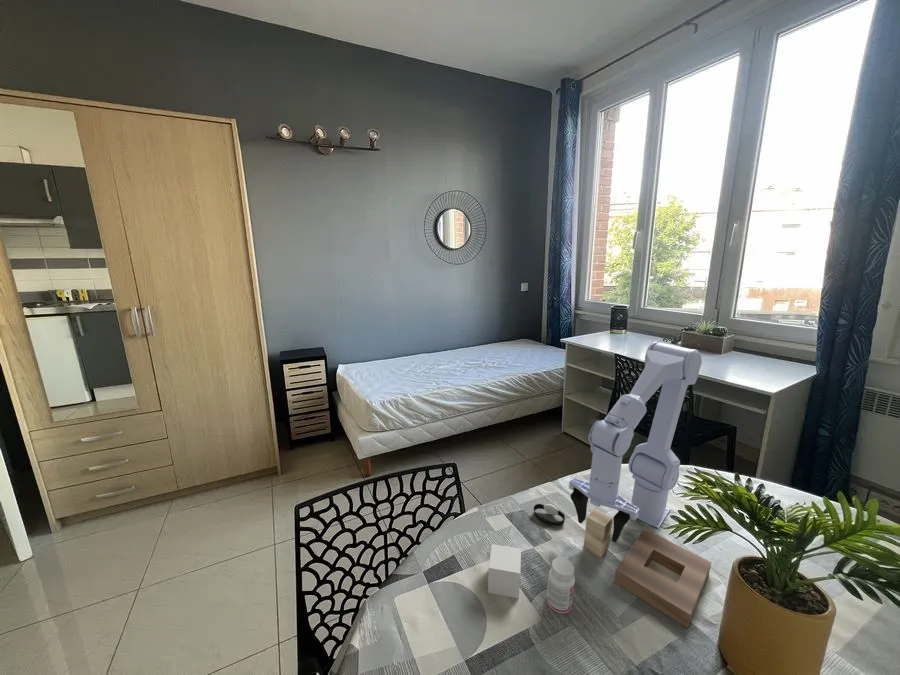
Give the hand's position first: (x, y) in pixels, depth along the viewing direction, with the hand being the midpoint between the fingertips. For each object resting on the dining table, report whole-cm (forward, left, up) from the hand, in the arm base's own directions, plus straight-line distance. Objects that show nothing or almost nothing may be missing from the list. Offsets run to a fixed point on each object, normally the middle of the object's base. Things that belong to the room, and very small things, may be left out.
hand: (598, 529), depth 82 cm
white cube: (+22, -9, -5) cm, 24 cm away
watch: (0, -12, -5) cm, 13 cm away
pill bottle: (+18, +1, -5) cm, 19 cm away
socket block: (-2, +13, -5) cm, 14 cm away
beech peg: (0, 0, -5) cm, 5 cm away
